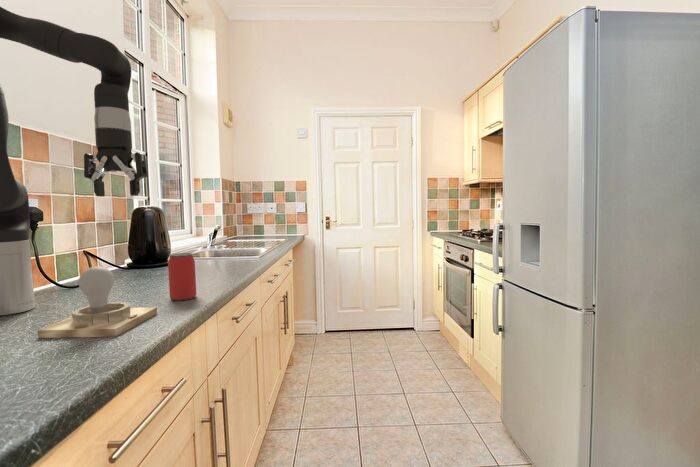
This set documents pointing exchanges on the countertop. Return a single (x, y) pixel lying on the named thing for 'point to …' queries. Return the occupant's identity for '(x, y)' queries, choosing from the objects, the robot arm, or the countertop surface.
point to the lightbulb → (96, 287)
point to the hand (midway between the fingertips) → (117, 196)
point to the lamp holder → (98, 322)
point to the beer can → (182, 276)
